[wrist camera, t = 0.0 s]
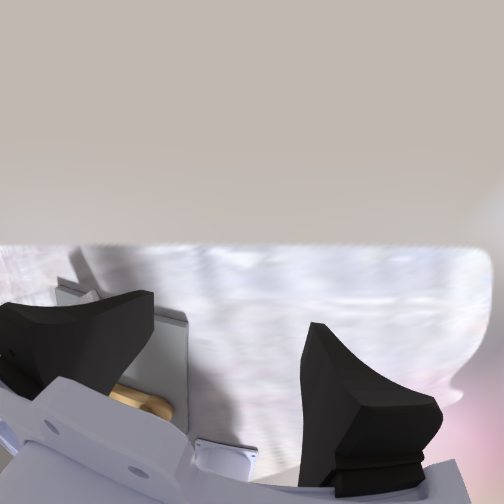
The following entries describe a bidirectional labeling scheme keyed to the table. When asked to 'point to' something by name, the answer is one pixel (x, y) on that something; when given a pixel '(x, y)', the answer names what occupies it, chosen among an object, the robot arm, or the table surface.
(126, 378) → the base plate
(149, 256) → the table surface
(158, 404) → the link
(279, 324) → the table surface
